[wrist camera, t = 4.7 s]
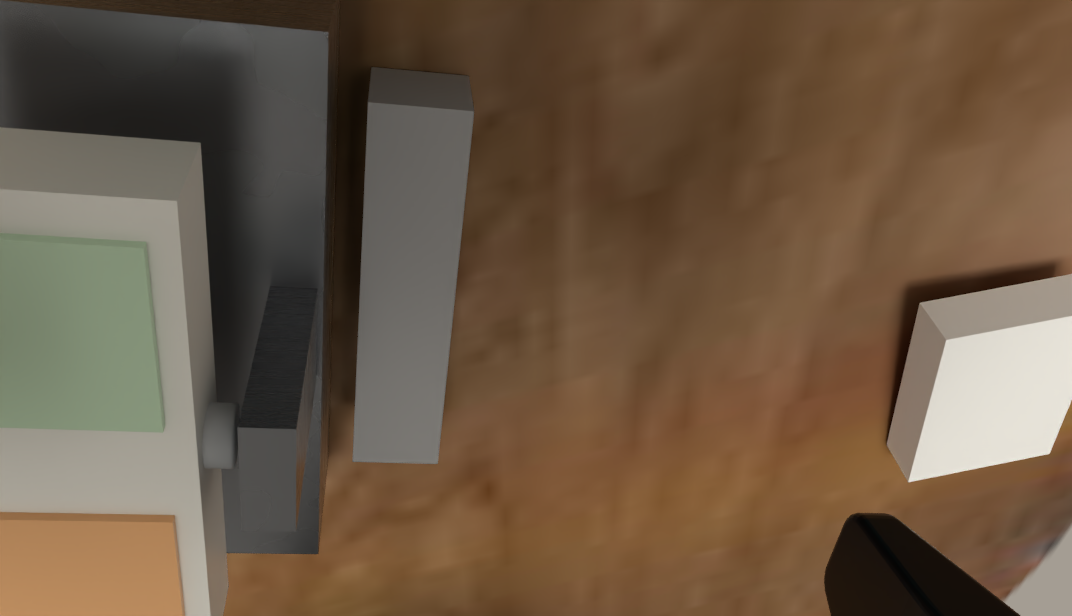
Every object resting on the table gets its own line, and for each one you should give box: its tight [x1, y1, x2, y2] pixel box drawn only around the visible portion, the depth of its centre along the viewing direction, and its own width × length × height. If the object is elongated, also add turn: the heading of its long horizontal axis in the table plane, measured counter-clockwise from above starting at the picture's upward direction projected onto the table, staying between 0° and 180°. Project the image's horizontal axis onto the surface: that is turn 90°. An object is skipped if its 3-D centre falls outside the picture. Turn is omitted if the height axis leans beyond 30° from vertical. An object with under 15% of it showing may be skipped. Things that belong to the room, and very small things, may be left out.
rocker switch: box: [0, 127, 240, 616], centre depth 14 cm, size 9×5×2 cm, turn 172°
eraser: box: [887, 274, 1072, 482], centre depth 23 cm, size 1×5×4 cm
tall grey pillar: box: [353, 67, 474, 464], centre depth 19 cm, size 8×2×2 cm, turn 172°
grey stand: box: [0, 0, 340, 554], centre depth 16 cm, size 11×7×7 cm, turn 172°
